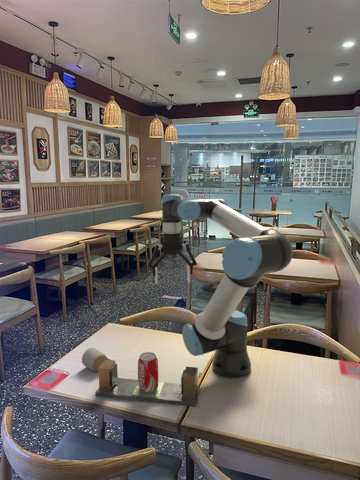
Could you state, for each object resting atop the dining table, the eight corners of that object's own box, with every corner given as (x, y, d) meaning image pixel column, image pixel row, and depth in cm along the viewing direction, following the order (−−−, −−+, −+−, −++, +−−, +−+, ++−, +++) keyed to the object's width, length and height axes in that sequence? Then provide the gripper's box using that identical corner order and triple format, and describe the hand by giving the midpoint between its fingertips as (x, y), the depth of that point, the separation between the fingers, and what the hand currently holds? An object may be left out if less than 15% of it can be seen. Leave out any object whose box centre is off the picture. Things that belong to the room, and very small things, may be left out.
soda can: (157, 393, 120) (157, 361, 118) (137, 393, 120) (136, 361, 118) (159, 382, 126) (158, 351, 125) (139, 382, 127) (138, 351, 125)
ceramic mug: (94, 376, 134) (93, 357, 133) (81, 369, 139) (81, 350, 138) (116, 365, 142) (115, 347, 141) (103, 359, 148) (102, 342, 146)
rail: (199, 389, 125) (199, 364, 123) (195, 407, 115) (195, 380, 114) (106, 380, 131) (105, 356, 130) (95, 396, 122) (94, 370, 120)
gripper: (200, 230, 149) (200, 278, 152) (141, 232, 145) (142, 281, 149) (203, 232, 141) (203, 283, 145) (141, 234, 138) (143, 286, 141)
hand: (172, 282), depth 147 cm, fingers open, 13 cm apart
